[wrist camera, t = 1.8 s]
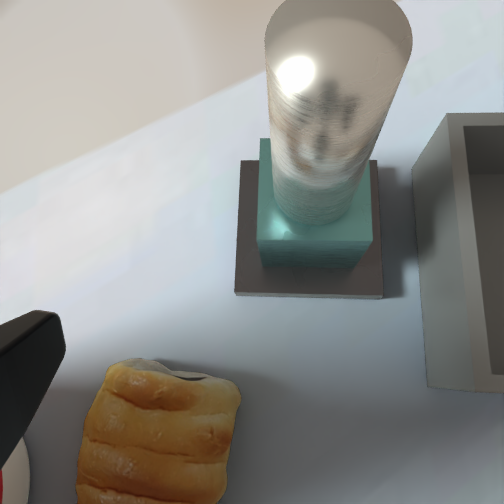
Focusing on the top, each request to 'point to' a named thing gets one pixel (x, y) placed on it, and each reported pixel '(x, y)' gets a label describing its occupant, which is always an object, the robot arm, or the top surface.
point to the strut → (325, 126)
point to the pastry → (157, 437)
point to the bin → (462, 251)
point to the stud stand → (301, 278)
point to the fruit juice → (15, 477)
